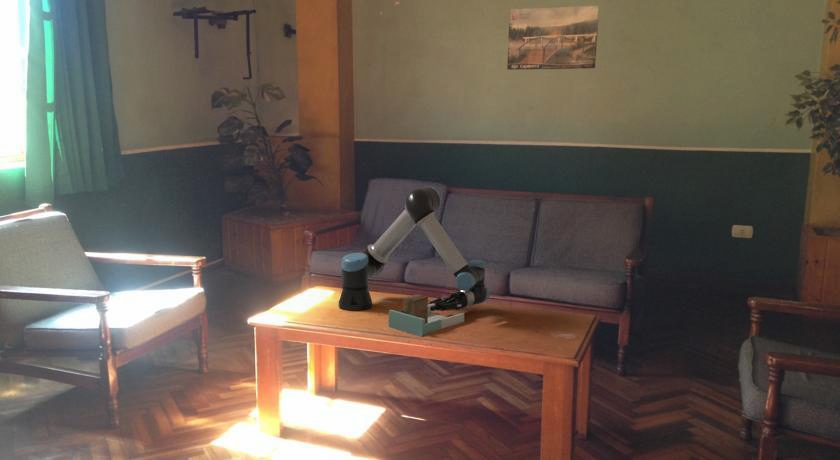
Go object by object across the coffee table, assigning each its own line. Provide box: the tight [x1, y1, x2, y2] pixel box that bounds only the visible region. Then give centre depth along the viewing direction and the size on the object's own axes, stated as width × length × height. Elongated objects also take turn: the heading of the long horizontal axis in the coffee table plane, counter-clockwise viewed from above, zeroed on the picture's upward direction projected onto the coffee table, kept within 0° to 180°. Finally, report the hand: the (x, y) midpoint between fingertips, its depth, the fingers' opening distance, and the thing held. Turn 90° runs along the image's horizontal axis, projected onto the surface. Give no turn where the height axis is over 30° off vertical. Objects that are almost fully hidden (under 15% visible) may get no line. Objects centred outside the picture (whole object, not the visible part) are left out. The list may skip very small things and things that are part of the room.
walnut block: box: [402, 293, 429, 324], centre depth 289 cm, size 6×8×12 cm
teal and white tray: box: [388, 309, 465, 338], centre depth 294 cm, size 19×25×7 cm
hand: (423, 309), depth 292 cm, fingers closed
